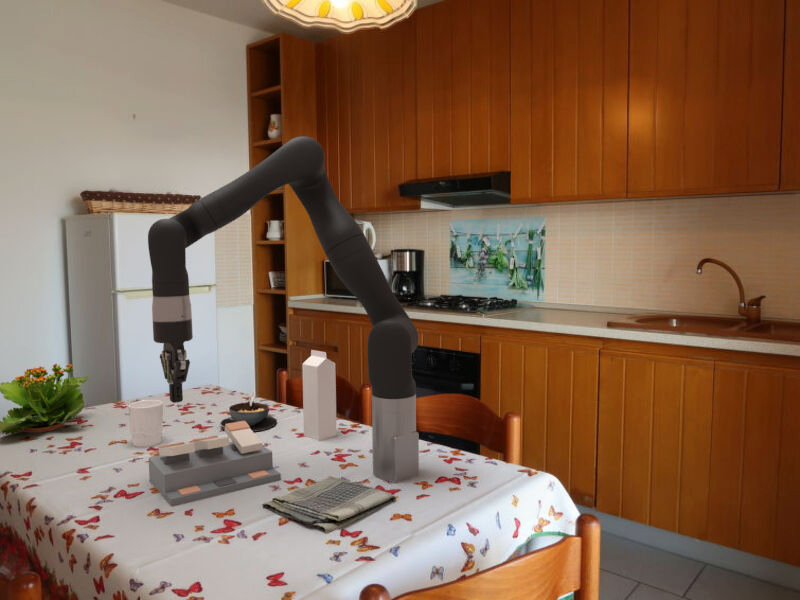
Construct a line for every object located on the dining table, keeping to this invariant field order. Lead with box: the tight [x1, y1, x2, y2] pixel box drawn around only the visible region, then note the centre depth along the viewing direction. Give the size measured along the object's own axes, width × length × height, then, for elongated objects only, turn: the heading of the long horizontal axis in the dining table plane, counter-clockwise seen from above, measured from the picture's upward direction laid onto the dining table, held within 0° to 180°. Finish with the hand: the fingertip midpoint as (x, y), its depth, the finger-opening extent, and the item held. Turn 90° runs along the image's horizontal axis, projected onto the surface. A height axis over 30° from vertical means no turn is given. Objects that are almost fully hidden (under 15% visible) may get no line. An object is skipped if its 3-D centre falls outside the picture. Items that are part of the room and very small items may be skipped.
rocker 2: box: [192, 435, 230, 449], centre depth 128 cm, size 10×4×2 cm, turn 36°
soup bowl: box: [220, 391, 278, 432], centre depth 167 cm, size 15×16×7 cm
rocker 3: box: [224, 421, 263, 454], centre depth 132 cm, size 10×4×2 cm, turn 36°
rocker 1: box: [158, 441, 195, 456], centre depth 124 cm, size 10×4×2 cm, turn 36°
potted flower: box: [0, 363, 90, 435], centre depth 166 cm, size 25×24×18 cm
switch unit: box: [148, 441, 282, 507], centre depth 126 cm, size 16×22×6 cm
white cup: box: [128, 399, 164, 448], centre depth 152 cm, size 8×8×10 cm
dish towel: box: [261, 476, 397, 535], centre depth 114 cm, size 19×18×3 cm
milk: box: [301, 349, 337, 441], centre depth 156 cm, size 6×6×22 cm
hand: (176, 401), depth 126 cm, fingers closed
